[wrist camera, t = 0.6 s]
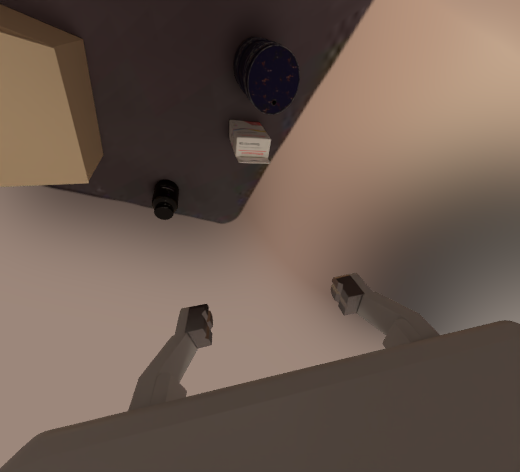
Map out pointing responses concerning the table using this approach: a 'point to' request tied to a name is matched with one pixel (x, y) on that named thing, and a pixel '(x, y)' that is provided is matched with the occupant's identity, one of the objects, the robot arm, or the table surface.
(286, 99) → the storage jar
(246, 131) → the ink cartridge box
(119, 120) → the table surface
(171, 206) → the supplement bottle
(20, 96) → the flap
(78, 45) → the carton
